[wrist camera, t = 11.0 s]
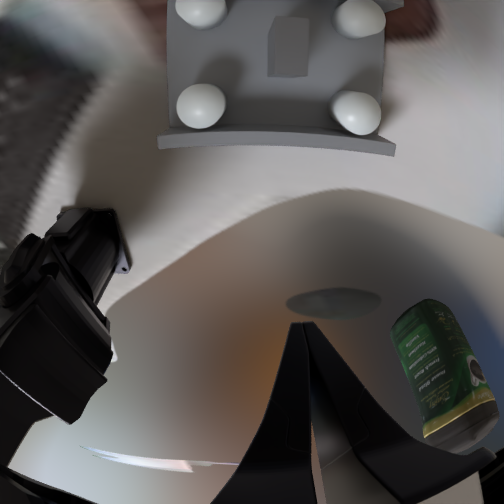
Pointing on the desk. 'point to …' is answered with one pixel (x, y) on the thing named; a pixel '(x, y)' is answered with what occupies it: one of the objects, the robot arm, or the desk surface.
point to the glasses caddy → (276, 73)
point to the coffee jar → (444, 377)
